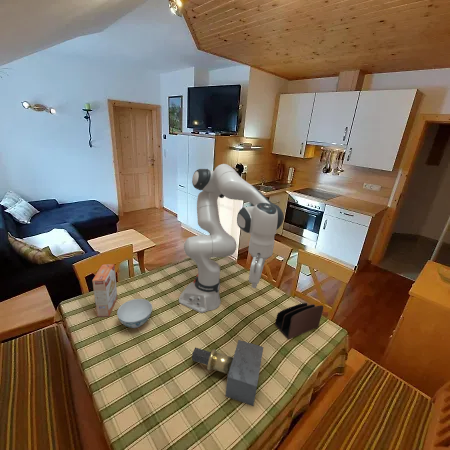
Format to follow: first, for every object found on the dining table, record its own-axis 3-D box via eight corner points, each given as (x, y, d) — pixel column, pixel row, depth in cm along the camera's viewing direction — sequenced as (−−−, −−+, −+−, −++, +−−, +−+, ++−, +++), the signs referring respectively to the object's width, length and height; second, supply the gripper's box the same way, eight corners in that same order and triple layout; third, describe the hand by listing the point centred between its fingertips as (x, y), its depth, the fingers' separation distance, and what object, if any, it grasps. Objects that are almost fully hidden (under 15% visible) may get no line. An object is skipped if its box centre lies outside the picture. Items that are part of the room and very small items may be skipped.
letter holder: (318, 327, 116) (325, 304, 111) (287, 340, 108) (293, 316, 102) (304, 313, 124) (309, 292, 119) (274, 324, 116) (278, 301, 110)
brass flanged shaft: (189, 368, 90) (190, 354, 87) (197, 352, 96) (197, 339, 94) (227, 381, 86) (229, 367, 83) (232, 364, 93) (234, 351, 90)
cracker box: (110, 316, 112) (105, 280, 105) (96, 317, 112) (90, 280, 104) (118, 297, 125) (114, 263, 118) (106, 297, 124) (101, 263, 117)
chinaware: (159, 323, 111) (158, 310, 108) (128, 341, 100) (126, 327, 98) (142, 306, 120) (141, 294, 117) (113, 321, 110) (111, 308, 107)
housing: (225, 396, 83) (227, 376, 79) (236, 357, 97) (238, 339, 93) (253, 406, 80) (256, 386, 77) (260, 365, 95) (263, 347, 91)
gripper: (265, 263, 76) (260, 298, 81) (272, 238, 94) (267, 268, 99) (246, 259, 77) (242, 293, 82) (256, 235, 95) (252, 265, 101)
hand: (256, 279), depth 91 cm, fingers open, 8 cm apart
